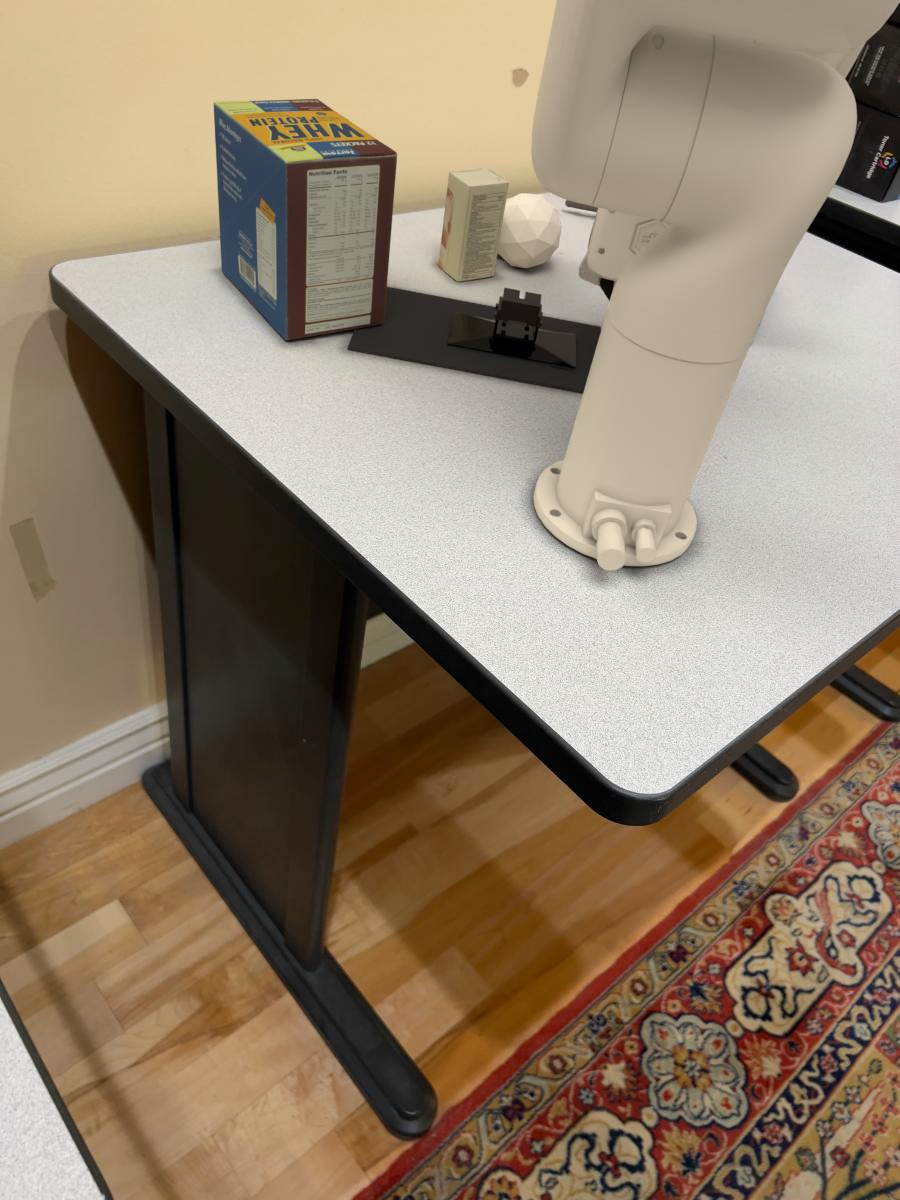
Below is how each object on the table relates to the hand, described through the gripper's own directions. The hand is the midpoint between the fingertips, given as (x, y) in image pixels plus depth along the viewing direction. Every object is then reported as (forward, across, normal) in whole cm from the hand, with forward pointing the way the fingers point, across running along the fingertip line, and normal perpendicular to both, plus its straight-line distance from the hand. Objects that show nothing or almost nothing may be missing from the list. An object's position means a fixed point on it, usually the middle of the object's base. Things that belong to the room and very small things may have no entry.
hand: (616, 345), depth 86 cm
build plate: (+2, -10, 0) cm, 10 cm away
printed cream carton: (+2, -16, +15) cm, 22 cm away
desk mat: (+2, -13, 0) cm, 13 cm away
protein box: (+2, -31, +1) cm, 31 cm away
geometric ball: (+2, -10, +20) cm, 22 cm away
